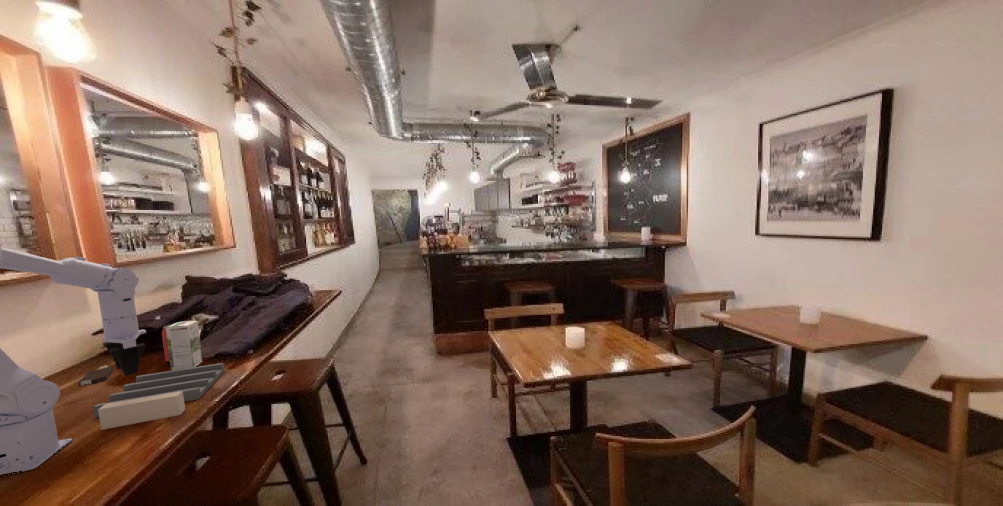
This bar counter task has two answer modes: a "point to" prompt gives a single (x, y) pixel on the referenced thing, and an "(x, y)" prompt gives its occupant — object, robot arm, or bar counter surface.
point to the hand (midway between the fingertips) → (127, 370)
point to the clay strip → (141, 410)
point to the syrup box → (184, 345)
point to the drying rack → (169, 384)
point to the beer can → (165, 342)
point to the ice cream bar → (96, 375)
